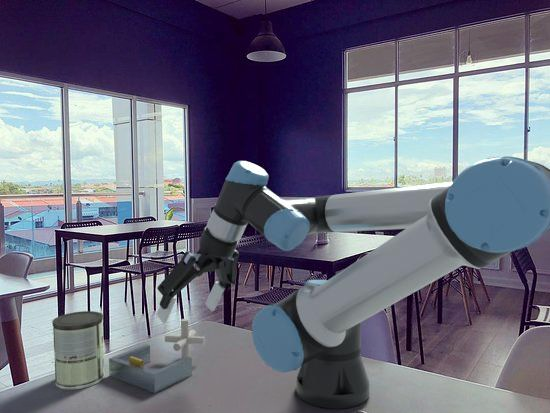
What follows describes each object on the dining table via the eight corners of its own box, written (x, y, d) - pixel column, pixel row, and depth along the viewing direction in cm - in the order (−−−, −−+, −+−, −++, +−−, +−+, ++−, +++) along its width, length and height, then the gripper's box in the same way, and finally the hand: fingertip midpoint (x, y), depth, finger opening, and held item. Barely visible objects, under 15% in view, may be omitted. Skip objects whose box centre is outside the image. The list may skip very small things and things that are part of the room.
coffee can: (48, 379, 101) (46, 317, 100) (94, 366, 108) (92, 308, 107) (63, 395, 94) (61, 328, 93) (112, 380, 101) (110, 317, 100)
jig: (191, 374, 103) (191, 352, 103) (155, 393, 94) (154, 368, 94) (147, 360, 112) (146, 339, 111) (109, 375, 103) (108, 353, 102)
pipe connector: (197, 369, 106) (196, 327, 105) (157, 366, 108) (156, 325, 107) (211, 353, 116) (210, 314, 115) (175, 350, 118) (174, 312, 117)
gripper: (252, 221, 104) (217, 293, 111) (163, 224, 85) (128, 311, 92) (273, 239, 100) (236, 313, 107) (185, 247, 81) (147, 336, 88)
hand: (186, 312), depth 100 cm, fingers open, 13 cm apart
